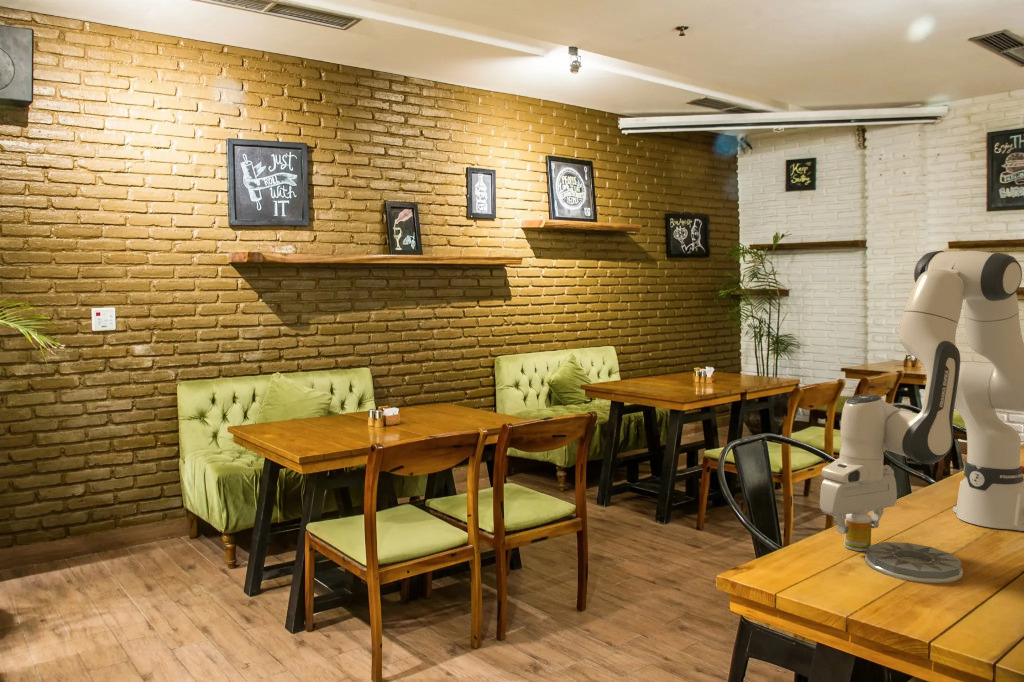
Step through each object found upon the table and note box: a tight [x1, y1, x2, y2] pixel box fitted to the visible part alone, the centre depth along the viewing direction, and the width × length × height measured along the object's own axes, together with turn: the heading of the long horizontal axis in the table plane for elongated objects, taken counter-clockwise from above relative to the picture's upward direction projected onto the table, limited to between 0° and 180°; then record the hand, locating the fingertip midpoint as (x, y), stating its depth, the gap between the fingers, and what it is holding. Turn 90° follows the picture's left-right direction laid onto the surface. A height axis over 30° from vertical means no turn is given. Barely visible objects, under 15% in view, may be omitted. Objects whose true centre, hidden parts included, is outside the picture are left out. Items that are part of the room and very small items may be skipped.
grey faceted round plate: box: [864, 541, 964, 584], centre depth 161 cm, size 18×18×2 cm
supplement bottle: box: [843, 509, 872, 552], centre depth 172 cm, size 5×5×10 cm
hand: (858, 530), depth 172 cm, fingers open, 8 cm apart
